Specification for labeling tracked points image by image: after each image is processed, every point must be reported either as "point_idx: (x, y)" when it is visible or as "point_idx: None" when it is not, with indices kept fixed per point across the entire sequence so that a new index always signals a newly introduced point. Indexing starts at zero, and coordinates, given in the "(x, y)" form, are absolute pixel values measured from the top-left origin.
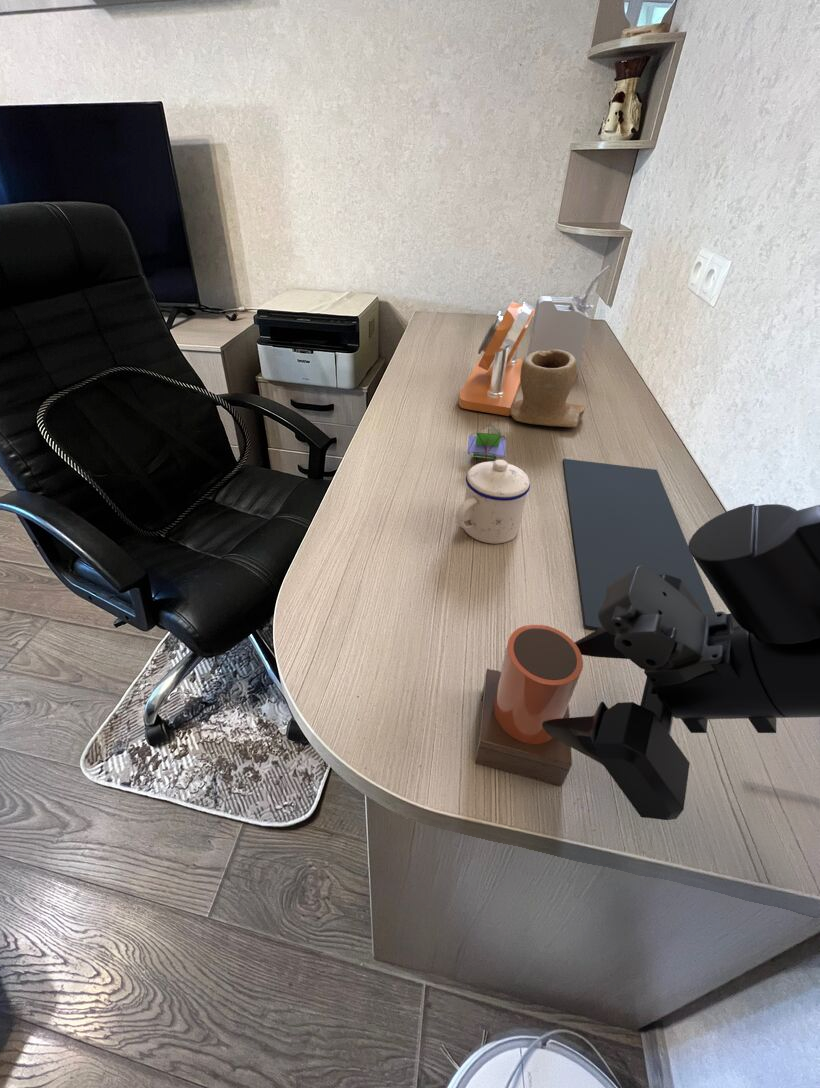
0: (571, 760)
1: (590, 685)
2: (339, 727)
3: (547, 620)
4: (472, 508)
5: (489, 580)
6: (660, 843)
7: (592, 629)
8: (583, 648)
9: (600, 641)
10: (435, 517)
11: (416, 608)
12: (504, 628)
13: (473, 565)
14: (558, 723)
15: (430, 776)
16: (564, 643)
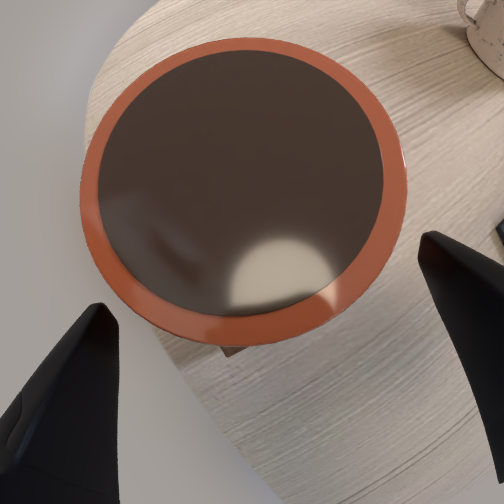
0: (234, 353)
1: (426, 289)
2: (109, 90)
3: (469, 176)
4: (485, 8)
5: (447, 80)
6: (265, 458)
7: (501, 238)
8: (434, 265)
9: (481, 305)
10: (445, 4)
11: (322, 32)
12: (408, 130)
13: (444, 56)
14: (60, 350)
15: None
16: (358, 198)
